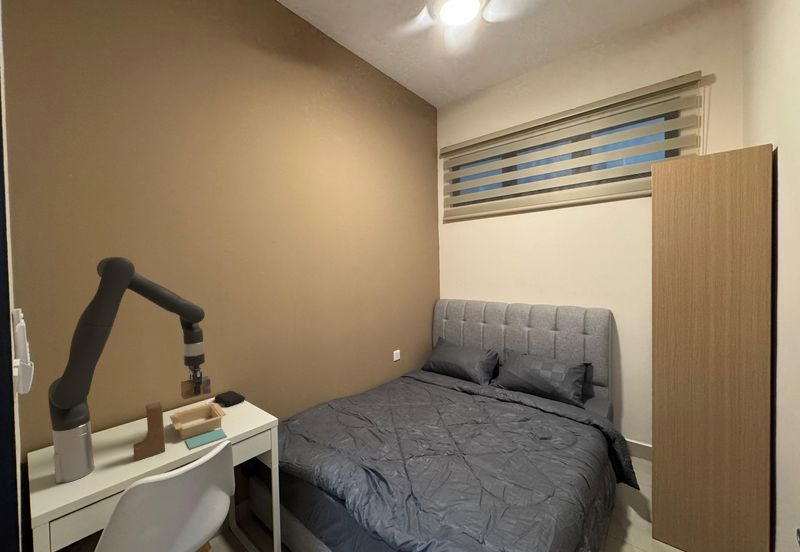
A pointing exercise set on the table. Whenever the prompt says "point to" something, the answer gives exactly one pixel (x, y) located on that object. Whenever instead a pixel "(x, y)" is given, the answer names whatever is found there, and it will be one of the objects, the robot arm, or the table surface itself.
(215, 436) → the mat
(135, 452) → the wooden block
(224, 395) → the carrying case or bag
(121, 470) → the table surface
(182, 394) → the box
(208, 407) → the carton
